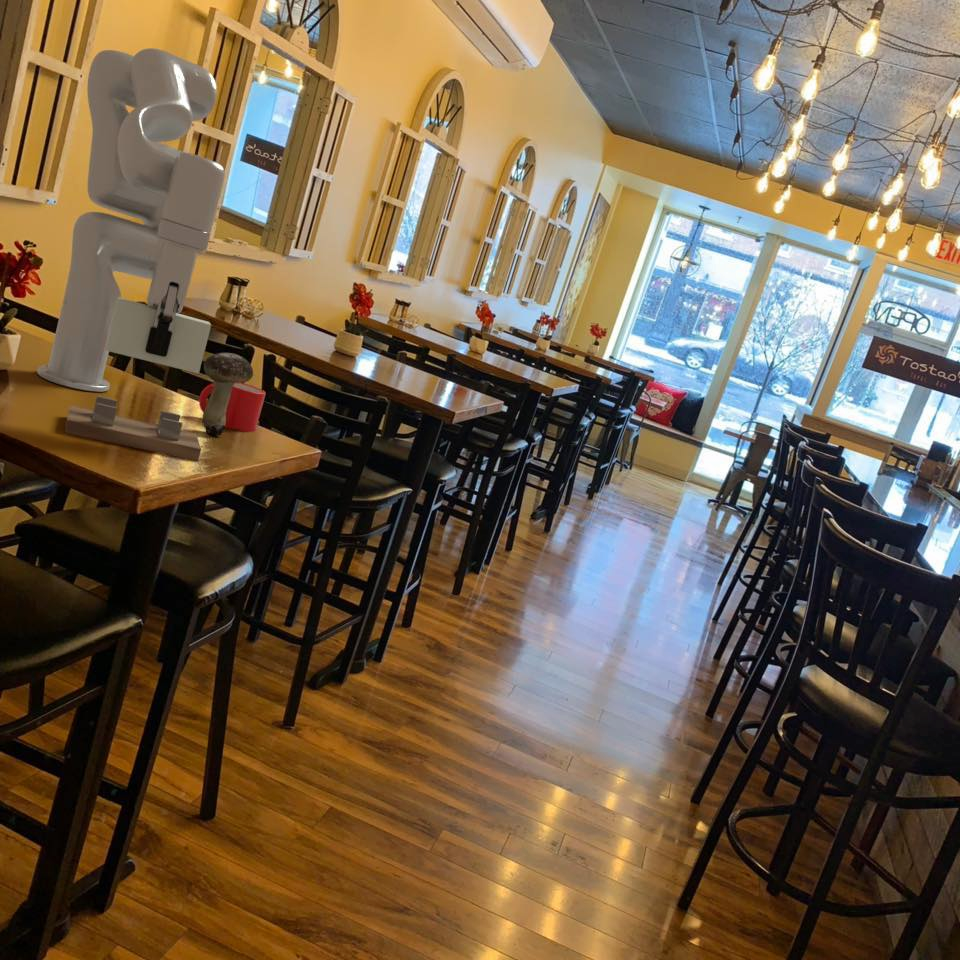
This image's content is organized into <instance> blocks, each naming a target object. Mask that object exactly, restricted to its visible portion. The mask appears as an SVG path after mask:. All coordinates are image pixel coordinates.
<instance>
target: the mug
mask: <svg viewBox="0 0 960 960" xmlns="http://www.w3.org/2000/svg"><path fill="white" fill-rule="evenodd" d="M213 388H214V383H213V382H212V383H210V384H209V385H207V386H206V387H204V388H203V390H202V391H201V393H200V395H199V398H198V399H199V400H198V404H199V408H200V410H201V412H202V414H203V413H204V411H205V408H206V406H207V403H208V397H210V396H209V395H211V394H212V391H213ZM265 397H266V391H265V390H262V388H260V387H256V386H253V385H251V384H247V383H245V382H240V383H235V384H234V386H233V387H232V391H231V394H230V398H229V401H228V405H227V408H226V413H225V416H226V424H225V425H224V427H226V426H227V427H226V428H228V427H230V428H229V429H231V428H234V429H233V430H235V429H238V430H237V431H239V430H241V431H240V432H247V433H255V432H256V430H257V427H258V424H259V419H260V416H261V411H262V408H263V405H264V402H265Z"/></svg>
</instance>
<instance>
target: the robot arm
mask: <svg viewBox="0 0 960 960" xmlns="http://www.w3.org/2000/svg"><path fill="white" fill-rule="evenodd" d="M88 72H89V73H88V78H87V89H86V90H87V102H88V107H89V114H90V119H91V126H92V127H91V128H92V130H91V131H92V135H91V136H92V137H91V144H90V145H91V146H90V155H89V164H88V173H87V194H88V197H89V199H90V201H92V203H93V204H95V205H97V206H98V207H101V208H103V209H107V210H109V211H112V212H115V213H118V214H122V215H124V216H128V217H132V218H135V219H139V220H141V221H142V223H143V224H142V223H139V222H136V221H135V222H134V221H133V220H130V219H126V218H123V217H120V216H117V215H113V214H110V213H105V212H102V211H101V212H100V211H89V212H85V213H82V214H81V215H80V216H79V217H78V218H77V219H76V220H75V223H74V226H73V230H72V242H71V258H70V266H69V272H68V277H67V282H66V285H65V286H66V287H65V290H64V295H63V300H62V304H61V309H60V313H59V318H58V321H57V325H56V326H57V327H56V331H55V335H54V339H53V343H52V348H51V352H50V357H49V361H48V364H46V365H40V366H38V368H37V372H36V373H37V375H39V377H41V378H43V379H44V380H47V381H49V382H52V383H54V384H58V385H60V386H64V387H67V388H72V389H76V390H81V391H88V392H98V393H99V392H101V393H102V392H107V391H109V389H110V387H111V384H110V382H109V381H108V380H106V379H104V375H105V374H104V373H105V369H106V365H107V361H108V357H109V353H110V351H106V346H107V342H108V337H109V333H110V329H111V325H112V321H113V316H114V312H115V308H116V304H117V299H118V297H119V298H122V292H121V290H120V287H119V285H118V283H117V280H116V278H115V276H114V272H118V273H124V274H127V275H131V276H135V277H139V278H143V279H146V280H151V282H150V286H149V290H148V294H147V297H146V301H147V304H148V305H149V306H151V307H156V308H157V311H156V315H155V320H154V324H153V327H151V328H150V333H149V337H148V341H147V345H146V349H145V350H146V352H147V353H150V354H154V355H158V356H162V357H166V356H167V352H168V348H169V344H170V340H171V336H172V332H171V331H172V328H173V323H174V319H175V315H176V313H178V314H181V312H182V311H183V308H184V305H185V302H186V298H187V296H188V292H189V290H190V284H191V281H192V278H193V275H194V274H193V273H194V269H195V266H196V265H195V264H196V261H197V258H198V257H197V256H198V254H203V255H206V253H207V250H208V246H209V241H210V238H211V233H212V230H213V225H214V221H215V218H216V213H217V210H218V207H219V206H218V205H219V202H220V198H221V194H222V189H223V186H224V182H225V178H226V171H225V168H224V167H223V165H221V164H220V163H219V162H216V161H214V160H211V159H209V158H206V157H203V156H201V155H198V154H194V153H190V152H185V151H183V150H180V149H177V148H174V147H171V146H169V145H166V144H164V143H167V142H172V141H176V140H179V139H181V138H183V137H184V136H185V135H187V134H188V132H189V131H190V129H191V128H192V124H193V122H198V121H201V120H203V119H205V118H206V117H208V116H209V115H210V114H211V113H212V112H213V110H214V109H215V106H216V103H217V97H218V87H217V83H216V79H215V78H214V76H213V74H212V73H210V71H209V70H208V69H206V68H204V67H203V66H200V65H198V64H195V63H194V62H191V61H189V60H187V59H185V58H181V57H179V56H177V55H174V54H172V53H170V52H168V51H164V50H162V49H159V48H144V49H142V50H140V51H138V52H136V53H135V55H133V54H129V53H127V52H123V51H119V50H115V49H114V50H113V49H104V50H102V51H99V52H98V53H97V54H96V55H95V56H94V58H93V59H92V61H91V63H90V68H89V71H88ZM127 106H128V107H130V108H133V109H132V110H131V111H130V112H129V110H128V109H127ZM160 313H161V314H160Z"/></svg>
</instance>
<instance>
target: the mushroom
mask: <svg viewBox="0 0 960 960" xmlns="http://www.w3.org/2000/svg"><path fill="white" fill-rule="evenodd" d="M203 370H204V373H205V374H206V376H208V378H209V379H210V380H211V381H214V388H213V391H212V392H211V393H210V396H209V398H208V400H207V406H206V408H205V411H204V413H203V412H202V424H203V426H204V429H205V433H206V434H208V435H211V436H222V434H223V432H224V429H225V426H224V425H225V424H226V416H225V413H226V408H227V405H228V401H229V398H230V394H231V391H232V387H233V386H234V384H235V383H247V382H249V381H251V380H252V378H253V376H254V369H253V367H252V365H251V364H250V362H249V361H248V360H247V359H246V358H244V357H243V356H240V355H239V354H236V353H233V352H232V353H231V352H219V353H214V354H211V355H210V356H209V357H207V358H206V359H204V361H203Z"/></svg>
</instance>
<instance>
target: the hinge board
mask: <svg viewBox="0 0 960 960" xmlns="http://www.w3.org/2000/svg"><path fill="white" fill-rule="evenodd" d="M117 402H118V399H115V398H114V399H113V398H109V397H104V396H101V395H96V399H95V403H94V407H93V410H92V409H88V408H83V407H81V406H80V407H79V406H75V405H69V408H68V412H67V416H66V417H67V418H66V422H65V426H64V427H65V429H64V433H65V434H69V435H74V436H78V437H79V436H80V437H82V438H83V437H84V438H89V439H94V440H97V441H102V442H107V443H112V444H116V445H121V446H126V447H130V448H135V449H140V450H145V451H149V452H150V451H151V452H154V453H160V454H163V455H169V456H173V457H176V458H177V457H178V458H183V459H187V460H192V461H197V462H198V461H199V459H200V455H201V452H202V451H201V450H202V447H201V443H200V441H199V439H198V436H197V433H195V432H192V431H186V430H182V428H183V422H182V421H180V418H181V414H178V413H173V412H171V411H170V412H169V411H165V410H161V411H160V415H159V419H158V423H157V424H155V423H150V422H146V421H143V420H137V419H133V418H127V417H125V416H124V417H123V416H120V415H119V416H118V415H117V410H118V407H117Z"/></svg>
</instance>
